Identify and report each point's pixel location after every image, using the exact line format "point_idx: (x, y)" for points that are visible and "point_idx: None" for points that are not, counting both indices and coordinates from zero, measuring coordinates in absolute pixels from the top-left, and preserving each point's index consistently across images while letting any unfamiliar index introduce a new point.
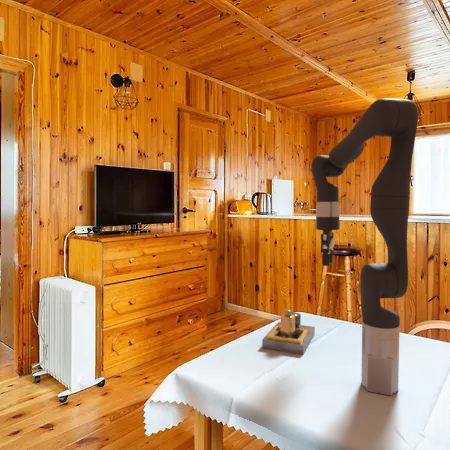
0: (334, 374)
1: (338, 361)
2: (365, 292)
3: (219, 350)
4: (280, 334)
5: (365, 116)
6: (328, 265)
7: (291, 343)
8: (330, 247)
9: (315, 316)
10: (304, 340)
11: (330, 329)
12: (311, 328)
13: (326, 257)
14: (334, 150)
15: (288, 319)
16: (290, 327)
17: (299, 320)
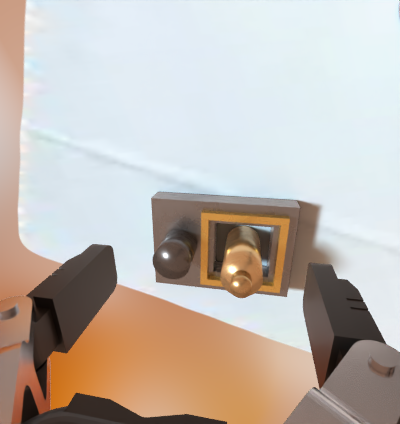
0: (393, 118)
1: (310, 116)
2: None
3: None
4: (214, 264)
5: None
6: (328, 267)
7: (293, 235)
8: (358, 421)
9: (25, 204)
10: (262, 210)
11: (99, 158)
12: (167, 204)
13: (373, 338)
14: None
15: (262, 273)
16: (259, 256)
17: (180, 241)
